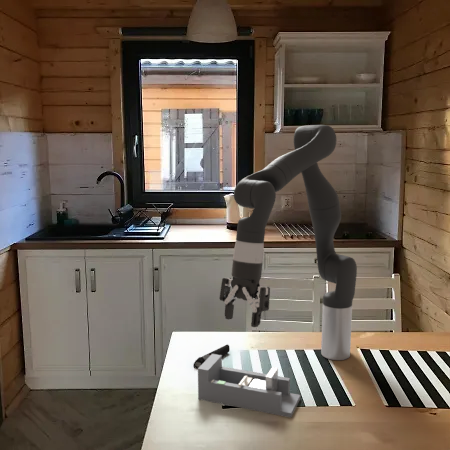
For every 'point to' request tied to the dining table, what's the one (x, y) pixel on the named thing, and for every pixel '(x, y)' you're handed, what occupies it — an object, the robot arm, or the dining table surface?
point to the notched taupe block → (267, 381)
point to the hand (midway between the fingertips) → (241, 322)
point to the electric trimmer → (220, 351)
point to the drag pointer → (246, 381)
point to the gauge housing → (243, 389)
